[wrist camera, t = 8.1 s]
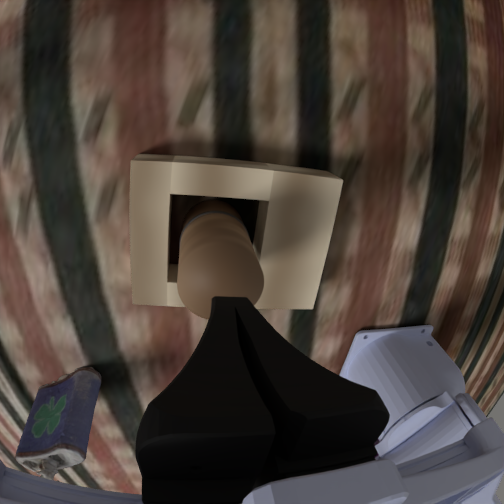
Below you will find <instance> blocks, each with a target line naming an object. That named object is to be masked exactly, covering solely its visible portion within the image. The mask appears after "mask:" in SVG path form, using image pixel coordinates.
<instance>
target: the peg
mask: <svg viewBox="0 0 504 504" xmlns="http://www.w3.org/2000/svg"><path fill="white" fill-rule="evenodd" d="M179 249H180V252H179V264H178V277H177V290H178V294H179V297H180V299H181V301H182V302H183V304H184V305H185V306H186V307H187V308H188V309H189V310H190V311H191V312H192V313H194V314H196V315H197V316H200V317H202V318H205V319H209V317H210V313H211V301H212V298H213V297H214V296H226V297H247V298H248V299H249V300H250V301H251V303H252V304H253V305H255V304H256V303H257V301H258V300H259V298H260V297H261V294H262V292H263V288H264V275H263V271H262V268H261V266H260V263H259V261H258V258H257V256H256V253H255V251H254V248H253V246H252V243H251V241H250V237H249V234H248V231H247V229H246V227H245V225H244V223H243V221H242V219H241V216H240V214H239V213H238V211H237V210H236V209H235V208H234V207H233V206H231V205H230V204H228V203H226V202H224V201H220V200H206V201H202V202H200V203H198V204H196V205H195V206H193V207H192V208H191V209H190V210H189V211H188V212H187V214H186V215H185V217H184V220H183V223H182V231H181V236H180V243H179Z"/></svg>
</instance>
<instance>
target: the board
mask: <svg viewBox="0 0 504 504" xmlns="http://www.w3.org/2000/svg"><path fill="white" fill-rule="evenodd" d="M342 184H343V180H342V179H341V178H339V177H337V176H335V175H334V174H332V173H330V172H328V171H323V170H316V169H309V168H302V167H294V166H286V165H278V164H270V163H261V162H252V161H242V160H231V159H220V158H207V157H193V156H177V155H157V154H138V155H137V156H136V157H134V158H133V159H132V160H131V171H130V264H131V285H132V301H133V304H139V305H157V306H177V307H186V306H185V305H184V304H183V302H182V301H181V299H180V297H179V294H178V290H177V277H178V264H170V235H171V212H172V194H182V195H199V196H214V197H228V198H241V199H253V200H259V207H258V213H257V220H256V227H255V234H254V241H253V248H254V251H255V253H256V256H257V258H258V261H259V263H260V266H261V268H262V271H263V275H264V288H263V292H262V294H261V297H260V298H259V300H258V301H257V303H256V304H255V305H254V306H255V308H256V309H313V306H314V303H315V299H316V295H317V291H318V288H319V284H320V280H321V276H322V272H323V268H324V264H325V260H326V256H327V252H328V247H329V243H330V239H331V235H332V230H333V226H334V222H335V217H336V213H337V208H338V203H339V199H340V194H341V189H342Z"/></svg>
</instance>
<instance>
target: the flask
mask: <svg viewBox="0 0 504 504" xmlns="http://www.w3.org/2000/svg"><path fill="white" fill-rule="evenodd" d="M98 374H99V375H98ZM99 376H100V377H99ZM100 385H101V375H100V373H99V372H97V371H95V370H94V369H93V368H92V367H81V368H77V369H75V372H73V373H71V374H69V375H67V374H66V375H64V376H63V375H62V377H60V378H59V380H58V381H57V382H54V381H53V382H52V383H51V384H50V385H49V384H46V385H44V386H41V387H39V389H38V393H37V396H36V399H35V401H34V404H33V406H32V409H31V411H30V414H29V417H28V419H27V422H26V425H25V428H24V431H23V434H22V436H21V439H20V444H19V446H18V449H17V451H16V456H15V457H16V460H17V461H18V462H19V463H20V464H22V465H23V466H24V467H26V468H27V469H29V470H32V471H34V472H35V471H36V470H41V471H39V472H36V473H37V474H38V475H39V474H42V475H41V476H40V477H42V478H46V479H49V480H53V478H54V475H55V474H57V473H58V470H57V469H64V468H67V467H71V466H73V465H76V464H79V463H81V462H83V461H84V460H85V459H86V453H87V445H88V440H89V434H90V429H91V424H92V419H93V414H94V409H95V405H96V401H97V397H98V393H99V388H100ZM58 482H59V481H58Z"/></svg>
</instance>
